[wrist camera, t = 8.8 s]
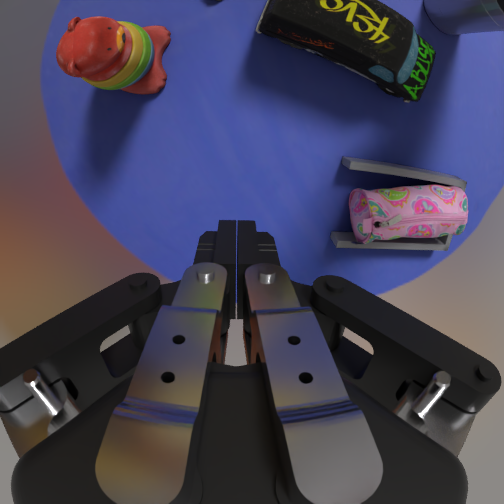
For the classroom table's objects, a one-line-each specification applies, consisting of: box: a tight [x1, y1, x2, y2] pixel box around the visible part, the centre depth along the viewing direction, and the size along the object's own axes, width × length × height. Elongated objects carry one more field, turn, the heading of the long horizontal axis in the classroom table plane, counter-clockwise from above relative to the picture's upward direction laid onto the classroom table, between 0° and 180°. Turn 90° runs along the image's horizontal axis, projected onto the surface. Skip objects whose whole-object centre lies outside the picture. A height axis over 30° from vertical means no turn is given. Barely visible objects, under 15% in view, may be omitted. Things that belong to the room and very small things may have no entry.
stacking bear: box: [56, 17, 171, 94], centre depth 24 cm, size 11×10×18 cm
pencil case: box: [349, 185, 468, 245], centre depth 41 cm, size 21×9×9 cm, turn 95°
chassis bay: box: [330, 157, 467, 251], centre depth 43 cm, size 14×24×4 cm, turn 87°
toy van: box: [256, 0, 436, 102], centre depth 27 cm, size 11×25×10 cm, turn 71°
